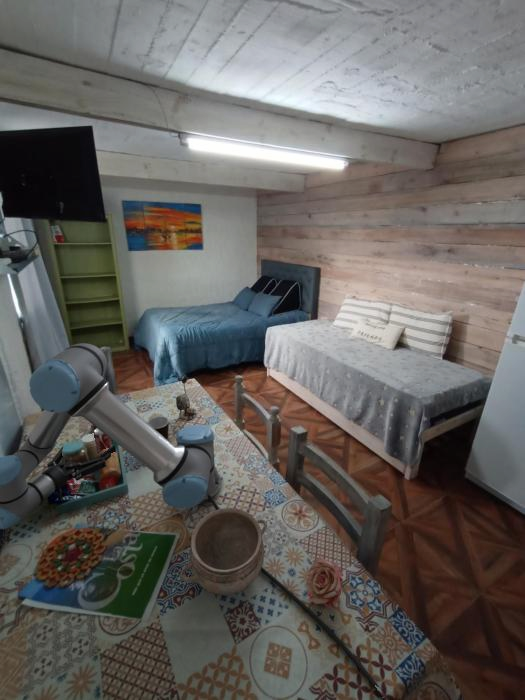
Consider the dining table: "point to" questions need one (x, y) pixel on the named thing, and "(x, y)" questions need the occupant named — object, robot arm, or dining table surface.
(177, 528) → the dining table surface
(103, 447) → the soda can
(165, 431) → the coffee mug
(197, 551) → the cooking pot
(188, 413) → the plant with pod
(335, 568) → the flower
